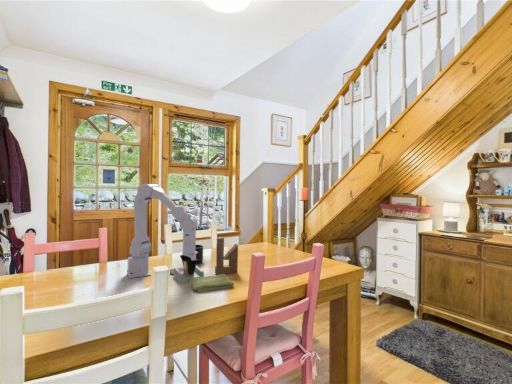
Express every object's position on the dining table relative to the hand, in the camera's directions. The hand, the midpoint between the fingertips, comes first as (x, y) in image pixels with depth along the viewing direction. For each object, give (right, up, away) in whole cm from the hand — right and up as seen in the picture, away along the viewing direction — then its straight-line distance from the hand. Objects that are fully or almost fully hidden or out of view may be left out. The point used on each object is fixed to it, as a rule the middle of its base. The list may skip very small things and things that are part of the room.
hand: (188, 272), depth 133 cm
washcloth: (+12, -4, -9) cm, 15 cm away
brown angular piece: (+17, -3, +9) cm, 19 cm away
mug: (-3, -3, +27) cm, 27 cm away
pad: (-7, -3, +10) cm, 12 cm away
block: (0, -1, 0) cm, 1 cm away
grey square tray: (0, -3, 0) cm, 3 cm away
